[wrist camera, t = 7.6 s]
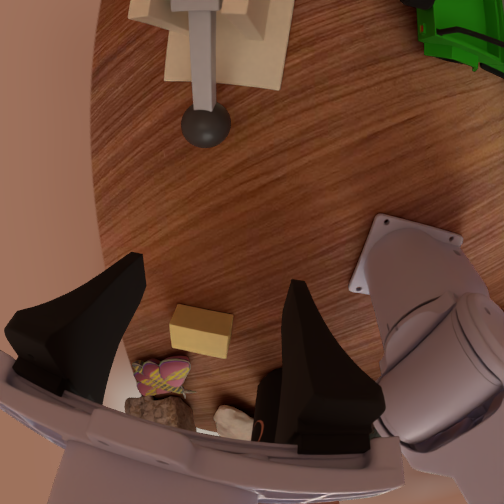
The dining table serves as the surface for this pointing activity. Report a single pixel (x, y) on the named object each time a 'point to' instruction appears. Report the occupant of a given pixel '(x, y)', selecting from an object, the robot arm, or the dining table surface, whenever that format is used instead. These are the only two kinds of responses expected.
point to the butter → (201, 331)
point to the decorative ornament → (162, 375)
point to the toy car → (463, 31)
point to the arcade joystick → (203, 76)
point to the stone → (162, 411)
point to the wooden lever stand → (227, 40)
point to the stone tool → (233, 423)
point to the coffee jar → (269, 412)
